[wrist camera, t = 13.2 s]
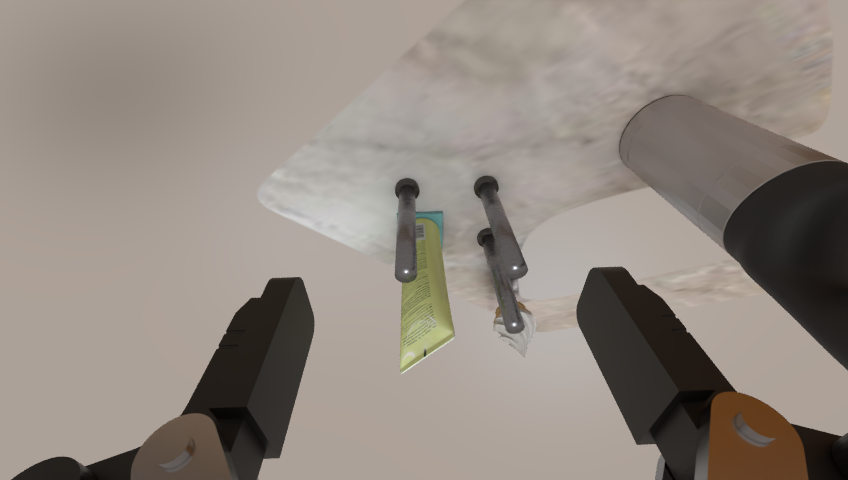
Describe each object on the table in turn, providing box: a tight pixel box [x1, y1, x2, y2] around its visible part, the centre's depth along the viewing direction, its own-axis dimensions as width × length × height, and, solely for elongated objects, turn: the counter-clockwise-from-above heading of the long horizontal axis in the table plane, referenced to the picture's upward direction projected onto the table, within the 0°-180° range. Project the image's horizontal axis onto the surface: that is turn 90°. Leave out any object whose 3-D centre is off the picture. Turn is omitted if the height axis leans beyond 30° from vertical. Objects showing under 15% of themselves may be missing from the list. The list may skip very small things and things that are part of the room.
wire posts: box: [395, 176, 528, 334], centre depth 40 cm, size 14×11×16 cm
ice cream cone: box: [494, 302, 537, 357], centre depth 47 cm, size 6×6×15 cm
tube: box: [400, 218, 455, 374], centre depth 40 cm, size 6×5×20 cm
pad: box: [397, 211, 443, 249], centre depth 48 cm, size 6×6×1 cm
